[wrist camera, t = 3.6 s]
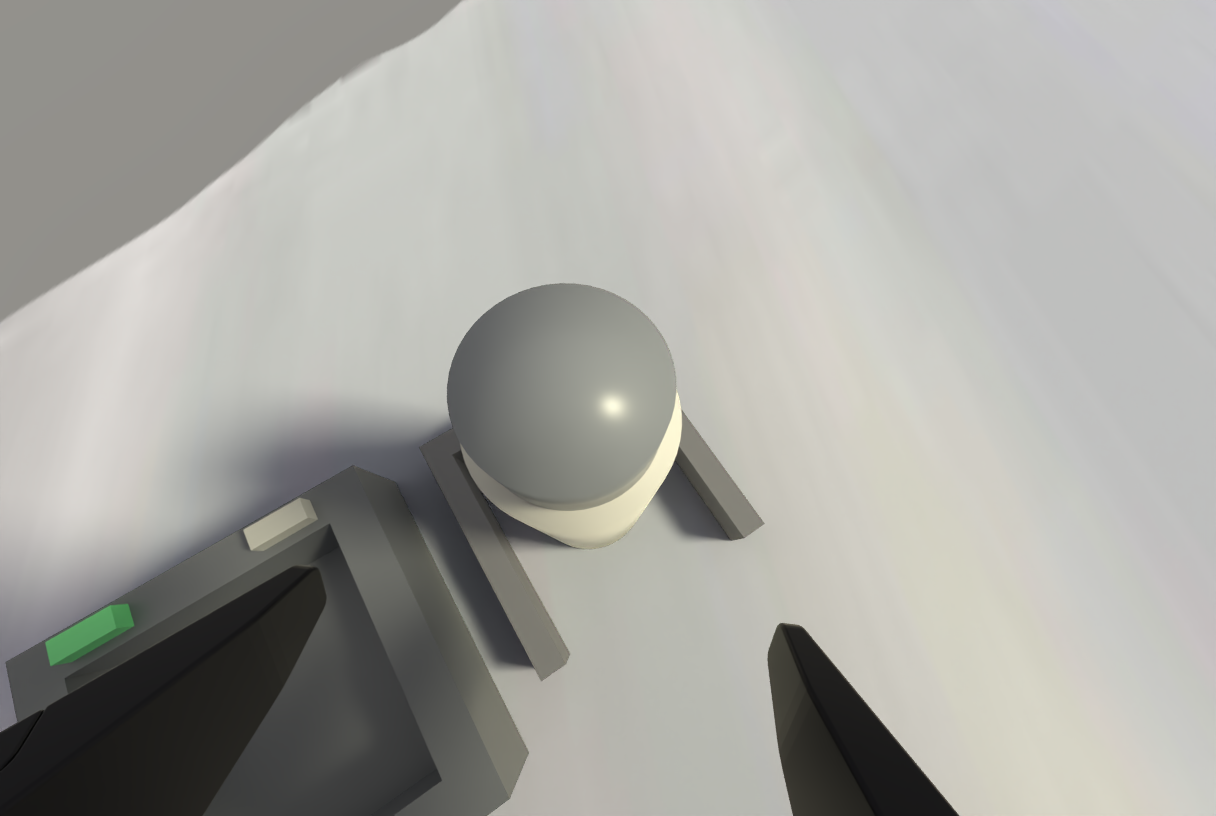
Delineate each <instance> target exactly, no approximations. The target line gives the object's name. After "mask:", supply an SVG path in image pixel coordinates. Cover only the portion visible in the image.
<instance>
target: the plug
mask: <svg viewBox="0 0 1216 816" xmlns="http://www.w3.org/2000/svg"><path fill="white" fill-rule="evenodd" d="M447 403H448V410H449V416H450V419H451V423H452V426H453V429H454V431H455V433H456V436H457V438H458V440H459V442H460V446H461V451H462V454H463V458H464V461H465V464H466V466H467V468H468V470H469V473H470V475H471V477H472V478H473V480H474V481H475V483H476V484H477V486H478V488H479V489H480V490H481V491H482V492H483V494H484V495H485V496H486V497H487V498H488V499H489V500H490V501H491V502H492V503H493V504H494V505H496V506H497V507H498V508H499V509H500V510H502V511H503V512H505V513H507V514H508V515H510V516H511V517H513V518H515V519H517V520H519V521H521V522H523V523H525V524H527V525H529V526H531V527H533V528H535V529H537V530H539V531H541V532H543V533H545V534H547V535H549V536H551V537H553V538H555V539H557V540H559V541H561V542H563V543H565V544H567V545H569V546H572V547H576V548H581V549H596V548H601V547H605V546H608V545H610V544H613V543H614V542H616V541H618V540H619V539H621V538H622V537H623V536H625V535H626V534H627V533H628V532H629V531H630V530H631V528H632V527H633V526H634V524H635V523H636V521H637V520H638V518H639V517H640V515H641V514H642V512H643V511H644V509H645V508H646V506H647V505H648V503H649V502H650V501H651V499H652V498H653V496H654V495H655V493H656V492H657V490H658V489H659V487H660V486H661V484H662V483H663V481H664V480H665V478H666V476H667V474H668V473H669V471H670V469H671V467H672V465H673V462H674V460H675V457H676V455H677V452H678V448H679V444H680V439H681V430H682V413H681V406H680V400H679V396H678V393H677V390H676V374H675V368H674V363H673V360H672V357H671V354H670V350H669V348H668V346H667V344H666V342H665V340H664V338H663V336H662V335H661V333H660V332H659V330H658V329H657V327H656V326H655V325H654V324H653V323H652V321H651V320H650V319H649V318H648V317H647V316H646V315H645V314H644V313H643V312H642V311H640V310H639V309H638V308H637V307H636V306H634V305H633V304H631V303H630V302H628V301H627V300H625V299H623V298H621V297H619V296H618V295H616V294H614V293H611V292H608V291H606V290H603V289H600V288H596V287H592V286H588V285H580V284H563V283H560V284H549V285H543V286H538V287H534V288H530V289H527V290H524V291H521V292H519V293H517V294H514V295H512V296H510V297H508V298H506V299H504V300H503V301H501V302H499V303H498V304H496V305H495V306H493V307H492V308H491V309H490V310H488V311H487V312H486V313H484V314H483V315H482V316H481V317H480V318H479V319H478V320H477V321H476V322H475V323H474V325H473V326H472V327H471V328H470V330H469V331H468V332H467V333H466V335H465V336H464V338H463V340H462V341H461V343H460V345H459V346H458V349H457V351H456V353H455V356H454V358H453V361H452V364H451V368H450V371H449V377H448V384H447Z"/></svg>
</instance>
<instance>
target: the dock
mask: <svg viewBox="0 0 1216 816" xmlns="http://www.w3.org/2000/svg"><path fill="white" fill-rule="evenodd" d="M294 565H309V566H315V567H317V568H318V569H319V570H320V572H321V576H322V579H323V583H324V587H325V590H326V594H327V600H326V605H325V607H324V610H323V612H322V614H321V616H320V618H319V620H318V621H317V623H316V625H315V627H314V629H313V631H312V633H311V635H310V637H309V639H308V641H307V643H306V645H305V647H304V649H303V651H302V653H301V655H300V657H299V659H298V661H297V663H296V665H295V667H294V669H293V671H292V672H291V674H290V676H289V678H288V680H287V682H286V684H285V685H284V687H283V689H282V690H281V692H280V694H279V695H278V697H277V699H276V700H275V702H274V704H273V705H272V707H271V708H270V710H269V712H268V713H267V715H266V716H265V718H264V720H263V721H262V723H261V724H260V726H259V727H258V729H257V731H256V732H255V734H254V735H253V737H252V739H251V740H250V742H249V743H248V745H247V747H246V748H245V750H244V751H243V753H242V754H241V756H240V758H239V759H238V761H237V762H236V764H235V766H234V767H233V769H232V770H231V772H230V774H229V775H228V777H227V778H226V780H225V782H224V783H223V785H222V786H221V788H220V789H219V791H218V793H217V794H216V796H215V797H214V799H213V801H212V802H211V804H210V805H209V807H208V809H207V810H206V812H205V813H204V815H203V816H487V815H489V814H490V813H491V812H493V811H494V810H495V809H497V808H498V807H499V806H501V805H502V804H503V803H505V802H506V801H507V800H509V799H510V797H511V794H512V792H513V790H514V787H515V785H516V782H517V780H518V778H519V775H520V773H521V770H522V768H523V766H524V763H525V761H526V758H527V756H528V754H529V752H528V750H527V748H526V746H525V744H524V742H523V740H522V738H521V736H520V734H519V732H518V730H517V728H516V726H515V724H514V722H513V720H512V718H511V716H510V714H509V712H508V710H507V708H506V705H505V703H504V701H503V699H502V697H501V695H500V693H499V691H498V689H497V687H496V685H495V683H494V681H493V679H492V677H491V675H490V673H489V671H488V669H487V667H486V665H485V663H484V661H483V659H482V657H481V655H480V653H479V651H478V649H477V647H476V645H475V643H474V641H473V639H472V637H471V635H470V633H469V631H468V629H467V627H466V625H465V623H464V620H463V618H462V616H461V614H460V612H459V610H458V608H457V606H456V604H455V602H454V600H453V598H452V596H451V594H450V592H449V590H448V588H447V586H446V584H445V582H444V580H443V578H442V576H441V574H440V572H439V570H438V568H437V566H436V564H435V562H434V560H433V558H432V556H431V554H430V552H429V550H428V548H427V546H426V544H425V542H424V540H423V538H422V535H421V533H420V531H419V529H418V527H417V525H416V523H415V521H414V519H413V517H412V515H411V513H410V511H409V509H408V507H407V505H406V503H405V501H404V499H403V497H402V495H401V493H400V491H399V489H398V487H397V485H396V483H395V482H394V481H391V480H389V479H386V478H384V477H381V476H378V475H376V474H373V473H371V472H368V471H366V470H363V469H361V468H358V467H355V466H351V467H349V468H348V469H346V470H344V471H342V472H341V473H339V474H337V475H335V476H333V477H332V478H330V479H328V480H326V481H325V482H323V483H321V484H319V485H318V486H316V487H314V488H312V489H311V490H309V491H307V492H305V493H303V494H302V495H300V496H298V497H296V498H295V499H293V500H291V501H289V502H288V503H286V504H284V505H282V506H281V507H279V508H277V509H275V510H273V511H272V512H270V513H268V514H266V515H265V516H263V517H261V518H259V519H258V520H256V521H254V522H252V523H251V524H249V525H247V526H245V527H243V528H242V529H240V530H238V531H236V532H235V533H233V534H231V535H229V536H228V537H226V538H224V539H222V540H221V541H219V542H217V543H215V544H213V545H212V546H210V547H208V548H206V549H205V550H203V551H201V552H199V553H198V554H196V555H194V556H192V557H191V558H189V559H187V560H185V561H183V562H182V563H180V564H178V565H176V566H175V567H173V568H171V569H169V570H168V571H166V572H164V573H162V574H161V575H159V576H157V577H155V578H153V579H152V580H150V581H148V582H146V583H145V584H143V585H141V586H139V587H138V588H136V589H134V590H132V591H131V592H129V593H127V594H125V595H123V596H122V597H120V598H118V599H116V600H115V601H113V602H111V603H109V604H108V605H106V606H104V607H102V608H101V609H99V610H97V611H95V612H93V613H92V614H90V615H88V616H86V617H85V618H83V619H81V620H79V621H78V622H76V623H74V624H72V625H71V626H69V627H67V628H65V629H64V630H62V631H60V632H58V633H56V634H55V635H53V636H51V637H49V638H48V639H46V640H44V641H42V642H41V643H39V644H37V645H35V646H34V647H32V648H30V649H28V650H26V651H25V652H23V653H21V654H19V655H18V656H16V657H14V658H12V659H11V660H9V661H7V662H5V663H6V668H7V672H8V677H9V682H10V687H11V692H12V697H13V702H14V707H15V712H16V717H17V722H19V721H21V720H23V719H25V718H26V717H28V716H30V715H32V714H33V713H35V712H37V711H39V710H45V708H46V707H47V706H48V705H49V704H51V703H53V702H55V701H56V700H58V699H60V698H62V697H64V696H65V695H67V694H69V693H71V692H72V691H74V690H76V689H78V688H79V687H81V686H83V685H85V684H86V683H88V682H90V681H92V680H93V679H95V678H97V677H99V676H100V675H102V674H104V673H106V672H107V671H109V670H111V669H113V668H114V667H116V666H118V665H120V664H121V663H123V662H125V661H127V660H128V659H130V658H132V657H134V656H135V655H137V654H139V653H141V652H142V651H144V650H146V649H148V648H149V647H151V646H153V645H155V644H156V643H158V642H160V641H162V640H163V639H165V638H167V637H169V636H170V635H172V634H174V633H176V632H178V631H179V630H181V629H183V628H185V627H186V626H188V625H190V624H192V623H193V622H195V621H197V620H199V619H200V618H202V617H204V616H206V615H207V614H209V613H211V612H213V611H214V610H216V609H218V608H220V607H221V606H223V605H225V604H227V603H228V602H230V601H232V600H234V599H235V598H237V597H239V596H241V595H242V594H244V593H246V592H248V591H249V590H251V589H253V588H255V587H256V586H258V585H260V584H262V583H263V582H265V581H267V580H269V579H270V578H272V577H274V576H276V575H277V574H279V573H281V572H283V571H284V570H286V569H288V568H290V567H292V566H294Z"/></svg>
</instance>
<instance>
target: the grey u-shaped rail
mask: <svg viewBox="0 0 1216 816" xmlns="http://www.w3.org/2000/svg"><path fill="white" fill-rule="evenodd" d="M681 413H682V430H681V439H680V444H679V448H678V452H677V455H676V457H675V461H676V462H677V464H678V465H679V467H680V468H681V470H682V471H683V472H684V474H685V475H686V477H687V478H688V480H689V481H690V482H691V484H692V485H693V487H694V488H695V490H696V491H697V493H698V494H699V495H700V497H701V498H702V500H703V501H704V503H705V504H706V505H707V507H708V508H709V510H710V511H711V513H712V514H713V515H714V517H715V518H716V520H717V521H718V523H719V524H720V525H721V527H722V528H723V530H724V531H725V533H726V534H727V536H728V537H729V538H730V540H731V541H732V540H737V539H742V538H745V537H746V536H748V535H749V534H751V533H752V532H754V531H755V530H756V529H758V528H759V527H761V526H762V525H763V524H764V522H763V521H762V519H761V518H760V517H759V515H758V514H757V513H756V511H755V510H754V508H753V507H752V506H751V504H750V503H749V502H748V500H747V499H746V497H745V496H744V495H743V493H742V492H741V491H740V489H739V488H738V486H737V485H736V484H735V482H734V481H733V480H732V478H731V477H730V475H729V474H728V473H727V471H726V470H725V469H724V467H723V466H722V464H721V463H720V462H719V460H718V459H717V458H716V456H715V455H714V453H713V452H712V451H711V449H710V448H709V447H708V445H707V444H706V443H705V441H704V440H703V438H702V437H701V436H700V434H699V433H698V432H697V430H696V429H695V427H694V426H693V425H692V423H691V422H690V421H689V419H688V418H687V416H686V415H685V414H684V412H683V411H682V410H681ZM419 448H420V450H421V452H422V454H423V456H424V458H425V460H426V462H427V464H428V466H429V467H430V469H431V471H432V473H433V475H434V477H435V479H436V481H437V483H438V485H439V487H440V488H441V490H442V492H443V494H444V496H445V498H446V500H447V502H448V504H449V506H450V508H451V510H452V511H453V513H454V515H455V517H456V519H457V521H458V523H459V525H460V527H461V529H462V531H463V532H464V534H465V536H466V538H467V540H468V542H469V544H470V546H471V548H472V550H473V552H474V553H475V555H476V557H477V559H478V561H479V563H480V565H481V567H482V569H483V571H484V573H485V575H486V576H487V578H488V580H489V582H490V584H491V586H492V588H493V590H494V592H495V594H496V596H497V597H498V599H499V601H500V603H501V605H502V607H503V609H504V611H505V613H506V615H507V617H508V619H509V620H510V622H511V624H512V626H513V628H514V630H515V632H516V634H517V636H518V638H519V640H520V641H521V643H522V645H523V647H524V649H525V651H526V653H527V655H528V657H529V659H530V661H531V662H532V664H533V666H534V668H535V670H536V672H537V674H538V676H539V678H540V680H541V681H543V680H544V679H545V678H547V677H548V676H550V675H551V674H552V673H554V672H555V671H557V670H558V669H560V668H561V667H562V666H564V665H565V664H566V662H567V660H568V658H569V655H570V653H569V651H568V649H567V647H566V646H565V644H564V642H563V640H562V638H561V636H560V635H559V633H558V631H557V629H556V627H555V626H554V624H553V622H552V620H551V618H550V616H549V615H548V613H547V611H546V609H545V607H544V606H543V604H542V602H541V600H540V598H539V596H538V595H537V593H536V591H535V589H534V587H533V586H532V584H531V582H530V580H529V578H528V576H527V575H526V573H525V571H524V569H523V567H522V565H521V564H520V562H519V560H518V558H517V556H516V555H515V553H514V551H513V549H512V547H511V545H510V544H509V542H508V540H507V538H506V536H505V535H504V533H503V531H502V529H501V527H500V525H499V524H498V522H497V520H496V518H495V516H494V515H493V513H492V511H491V509H490V507H489V505H488V504H487V502H486V500H485V498H484V496H483V495H482V493H481V491H480V489H479V488H478V486H477V484H476V483H475V481H474V480H473V478H472V477H471V475H470V473H469V470H468V468H467V466H466V464H465V461H464V458H463V454H462V451H461V446H460V442H459V440H458V438H457V436H456V433H455V431H454V429H453V428H452V429H450V430H449V431H447V432H445V433H443V434H442V435H440V436H438V437H436V438H435V439H433V440H431V441H429V442H428V443H426V444H424V445H422V446H421V447H419Z"/></svg>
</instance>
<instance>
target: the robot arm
mask: <svg viewBox="0 0 1216 816" xmlns="http://www.w3.org/2000/svg"><path fill="white" fill-rule="evenodd" d="M326 600H327V594H326V590H325V587H324V583H323V579H322V576H321V572H320V570H319V569H318V568H317V567H315V566H309V565H294V566H292V567H290V568H288V569H286V570H284V571H283V572H281V573H279V574H277V575H276V576H274V577H272V578H270V579H269V580H267V581H265V582H263V583H262V584H260V585H258V586H256V587H255V588H253V589H251V590H249V591H248V592H246V593H244V594H242V595H241V596H239V597H237V598H235V599H234V600H232V601H230V602H228V603H227V604H225V605H223V606H221V607H220V608H218V609H216V610H214V611H213V612H211V613H209V614H207V615H206V616H204V617H202V618H200V619H199V620H197V621H195V622H193V623H192V624H190V625H188V626H186V627H185V628H183V629H181V630H179V631H178V632H176V633H174V634H172V635H170V636H169V637H167V638H165V639H163V640H162V641H160V642H158V643H156V644H155V645H153V646H151V647H149V648H148V649H146V650H144V651H142V652H141V653H139V654H137V655H135V656H134V657H132V658H130V659H128V660H127V661H125V662H123V663H121V664H120V665H118V666H116V667H114V668H113V669H111V670H109V671H107V672H106V673H104V674H102V675H100V676H99V677H97V678H95V679H93V680H92V681H90V682H88V683H86V684H85V685H83V686H81V687H79V688H78V689H76V690H74V691H72V692H71V693H69V694H67V695H65V696H64V697H62V698H60V699H58V700H56V701H55V702H53V703H51V704H49V705H48V706H47V707H46V708H45V710H39V711H37V712H35V713H33V714H32V715H30V716H28V717H26V718H25V719H23V720H21V721H19V722H18V723H16V724H14V725H12V726H11V727H9V728H7V729H5V730H4V731H2V732H0V816H203V815H204V813H205V812H206V810H207V809H208V807H209V805H210V804H211V802H212V801H213V799H214V797H215V796H216V794H217V793H218V791H219V789H220V788H221V786H222V785H223V783H224V782H225V780H226V778H227V777H228V775H229V774H230V772H231V770H232V769H233V767H234V766H235V764H236V762H237V761H238V759H239V758H240V756H241V754H242V753H243V751H244V750H245V748H246V747H247V745H248V743H249V742H250V740H251V739H252V737H253V735H254V734H255V732H256V731H257V729H258V727H259V726H260V724H261V723H262V721H263V720H264V718H265V716H266V715H267V713H268V712H269V710H270V708H271V707H272V705H273V704H274V702H275V700H276V699H277V697H278V695H279V694H280V692H281V690H282V689H283V687H284V685H285V684H286V682H287V680H288V678H289V676H290V674H291V672H292V671H293V669H294V667H295V665H296V663H297V661H298V659H299V657H300V655H301V653H302V651H303V649H304V647H305V645H306V643H307V641H308V639H309V637H310V635H311V633H312V631H313V629H314V627H315V625H316V623H317V621H318V620H319V618H320V616H321V614H322V612H323V610H324V607H325V605H326ZM768 669H769V677H770V685H771V693H772V701H773V709H774V718H775V726H776V734H777V741H778V748H779V754H780V759H781V764H782V769H783V773H784V778H785V782H786V787H787V791H788V795H789V800H790V804H791V809H792V813H793V816H959V815H958V813H957V812H956V811H955V810H954V809H953V807H952V806H951V805H950V804H949V803H948V801H947V800H946V799H945V798H944V797H943V795H942V794H941V793H940V792H939V791H938V789H937V788H936V787H935V786H934V784H933V783H932V782H931V781H930V780H929V778H928V777H927V776H926V775H925V774H924V772H923V771H922V770H921V769H920V768H919V766H918V765H917V764H916V763H915V762H914V760H913V759H912V758H911V757H910V756H909V754H908V753H907V752H906V751H905V749H904V748H903V747H902V746H901V745H900V743H899V742H898V741H897V740H896V739H895V737H894V736H893V735H892V734H891V733H890V731H889V730H888V729H887V728H886V727H885V725H884V724H883V723H882V722H881V721H880V719H879V718H878V717H877V716H876V714H875V713H874V712H873V711H872V710H871V708H870V707H869V706H868V705H867V704H866V702H865V701H864V700H863V699H862V698H861V696H860V695H859V694H858V693H857V692H856V690H855V689H854V688H853V687H852V686H851V684H850V683H849V682H848V681H847V679H846V678H845V677H844V676H843V675H842V673H841V672H840V671H839V670H838V669H837V667H836V666H835V665H834V664H833V663H832V661H831V660H830V659H829V658H828V657H827V655H826V654H825V653H824V652H823V651H822V649H821V648H820V647H819V646H818V645H817V643H816V642H815V641H814V640H813V638H812V637H811V636H810V635H809V634H808V632H807V631H806V630H805V629H804V628H803V627H802V626H800V625H795V624H787V623H780V624H779V625H778V626H777V628H776V631H775V633H774V636H773V639H772V642H771V645H770V647H769V651H768Z"/></svg>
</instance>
